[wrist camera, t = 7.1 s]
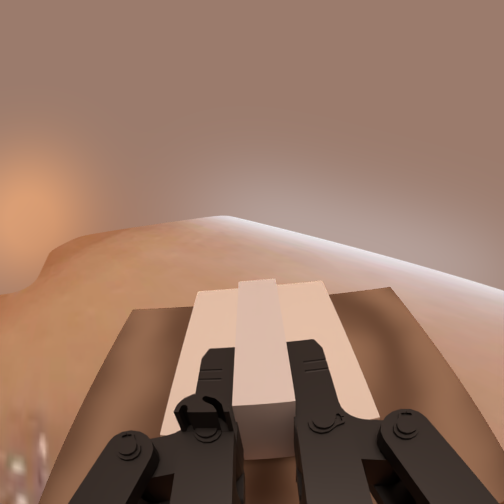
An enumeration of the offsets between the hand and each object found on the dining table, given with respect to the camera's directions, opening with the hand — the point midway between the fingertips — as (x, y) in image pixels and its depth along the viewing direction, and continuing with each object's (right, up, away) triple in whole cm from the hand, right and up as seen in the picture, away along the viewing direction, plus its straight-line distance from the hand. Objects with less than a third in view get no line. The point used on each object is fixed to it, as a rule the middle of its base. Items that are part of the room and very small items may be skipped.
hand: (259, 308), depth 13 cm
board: (+1, -7, +4) cm, 9 cm away
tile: (+1, -6, -1) cm, 7 cm away
